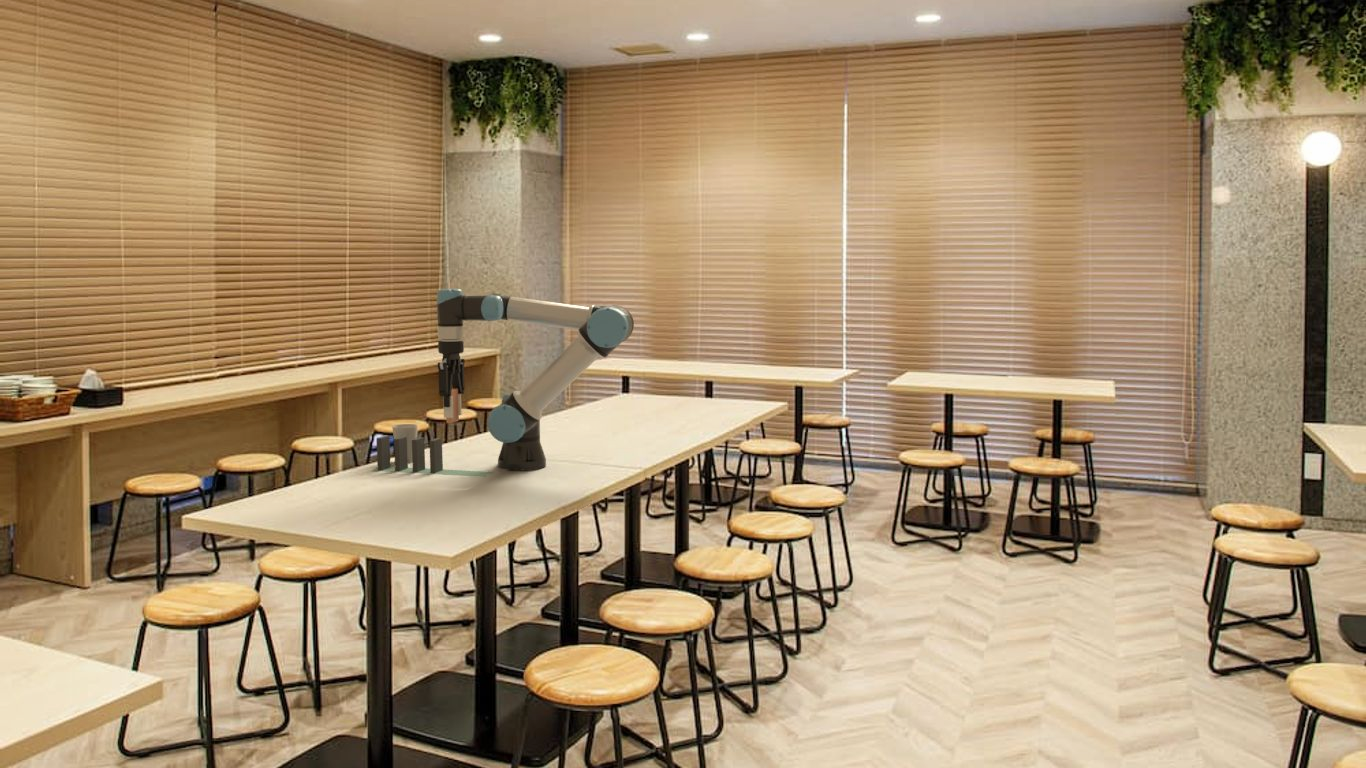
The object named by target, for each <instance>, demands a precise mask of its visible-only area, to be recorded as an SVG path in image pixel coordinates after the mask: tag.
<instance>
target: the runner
mask: <svg viewBox="0 0 1366 768" xmlns="http://www.w3.org/2000/svg"><path fill="white" fill-rule="evenodd" d="M370 471H373V472H388V473H389V472H390V473H392V472H393V473H404V474H405V473H407V474H409V473H410V474H426V475H427V474H429V475H445V476H447V475H448V476H464V477H465V476H466V477H481V478H482V477H486V476H488V475H492V474H494V471H481V470H479V471H478V470H461V469H445V468H443V470H442V471H439V472H437V473H430V468H426V467H425V469H424V470H422V471H419V472H413V467H408V468H407V469H405V470H402V471H395V466H391V467H390V468H387V469H385V470H378V467H377V468H374V469H372V470H370Z"/></svg>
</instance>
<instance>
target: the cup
mask: <svg viewBox="0 0 1366 768" xmlns="http://www.w3.org/2000/svg"><path fill="white" fill-rule="evenodd" d="M418 429H419V425H418V424H417V423H416V424H414V423H400V424H394V425H392V434H393V440H394V439H396V438H399V437H407V459H408V464H412V440H413V439H416V438H418Z"/></svg>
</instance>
